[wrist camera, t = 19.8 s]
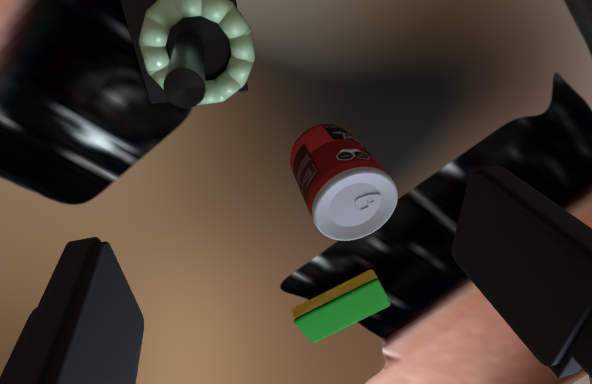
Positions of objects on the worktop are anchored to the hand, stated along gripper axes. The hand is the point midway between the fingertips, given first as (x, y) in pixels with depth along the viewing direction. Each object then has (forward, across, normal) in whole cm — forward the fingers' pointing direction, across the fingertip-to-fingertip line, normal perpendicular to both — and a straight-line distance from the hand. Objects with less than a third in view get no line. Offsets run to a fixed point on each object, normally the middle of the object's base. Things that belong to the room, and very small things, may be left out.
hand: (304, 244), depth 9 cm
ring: (+26, +3, 0) cm, 26 cm away
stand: (+28, +4, 0) cm, 29 cm away
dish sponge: (+28, -11, +39) cm, 50 cm away
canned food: (+28, -8, +13) cm, 32 cm away
